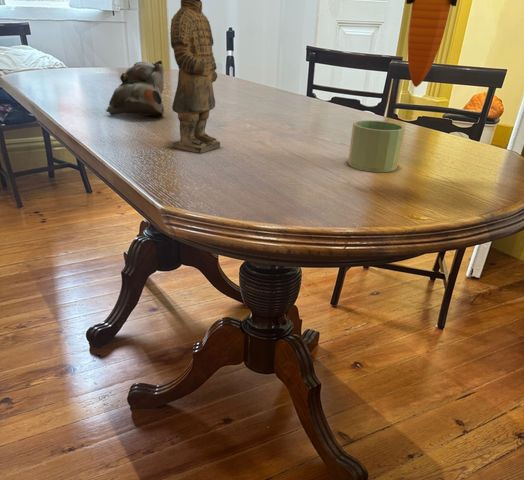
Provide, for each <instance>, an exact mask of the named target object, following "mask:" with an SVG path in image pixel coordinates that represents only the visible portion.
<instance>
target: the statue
mask: <svg viewBox="0 0 524 480" xmlns="http://www.w3.org/2000/svg"><path fill="white" fill-rule="evenodd" d="M170 20H171V21H170V30H169V31H170V32H169V35H170V36H169V37H170V46H171V49H172V50H173V55H174V60H175V63H176V65H177V67H178V75H177V77H178V78H177V83H176V84H177V85H176V86H177V87H176V90H175V94H174V98H173V101H172V105H171V109H172V111H173V112H175V113H176V114H177V119H178V121H179V136H180V137H179V138H180V139H179V140H178V141H174V142H173V148H174V149H176V150H177V149H178V150H181V151H182V150H183V151H187V152H193V153H197V154H202V153H205V152H209V151H212V150H215V149H219V148H221V142H220V141H218V140H217V138H215V137H213V136H210V135H209V134H207V133H206V127H207V122H208V119H209V116H210V111H212V110H214V109H215V108H216V98H215V93H214V87H213V86H214V85H213V83H214V82H216V81H217V80H218V79H217V78H218V74H217V71H216V70H217V63H216V59H215V57H214V52H213V46H214V37H213V33H212V28H211V24H210V21H209V19H208V17H207V16H206V15H205V14H204V13H203V1H202V0H180V8H179V9H178V10H177V11H176V13H175V14H174V15H173V17H172V18H171V19H170Z"/></svg>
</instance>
